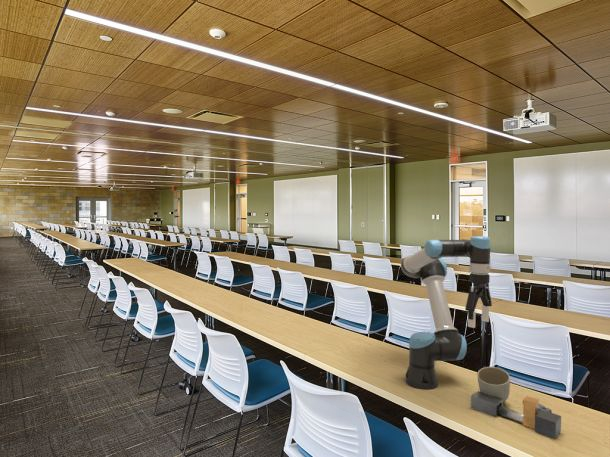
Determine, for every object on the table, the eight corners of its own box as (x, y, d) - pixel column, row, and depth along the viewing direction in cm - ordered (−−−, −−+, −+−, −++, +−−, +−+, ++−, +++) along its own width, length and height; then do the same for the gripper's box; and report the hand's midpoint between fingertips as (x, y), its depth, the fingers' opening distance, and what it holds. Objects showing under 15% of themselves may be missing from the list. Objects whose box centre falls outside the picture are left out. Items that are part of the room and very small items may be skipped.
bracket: (529, 402, 165) (529, 398, 165) (552, 414, 155) (552, 409, 155) (522, 404, 164) (522, 399, 164) (544, 416, 154) (544, 411, 154)
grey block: (470, 408, 159) (471, 395, 159) (477, 402, 163) (478, 390, 163) (496, 417, 152) (496, 404, 151) (502, 411, 156) (502, 399, 156)
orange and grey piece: (496, 415, 153) (496, 390, 153) (499, 412, 156) (500, 387, 155) (550, 435, 139) (551, 408, 139) (554, 431, 142) (554, 404, 142)
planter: (517, 403, 159) (516, 381, 156) (488, 410, 158) (487, 388, 156) (499, 385, 171) (498, 364, 168) (473, 391, 170) (471, 370, 168)
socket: (535, 431, 141) (535, 415, 141) (540, 425, 146) (541, 409, 146) (555, 439, 137) (555, 422, 137) (560, 432, 141) (561, 415, 141)
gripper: (475, 277, 148) (474, 331, 148) (500, 271, 165) (499, 320, 165) (457, 275, 153) (456, 327, 154) (482, 269, 170) (481, 317, 171)
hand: (478, 324), depth 160 cm, fingers open, 13 cm apart
